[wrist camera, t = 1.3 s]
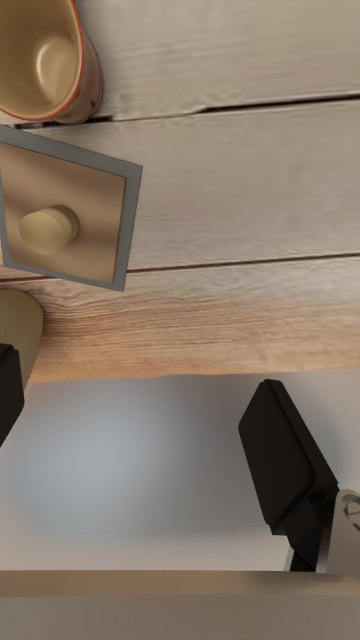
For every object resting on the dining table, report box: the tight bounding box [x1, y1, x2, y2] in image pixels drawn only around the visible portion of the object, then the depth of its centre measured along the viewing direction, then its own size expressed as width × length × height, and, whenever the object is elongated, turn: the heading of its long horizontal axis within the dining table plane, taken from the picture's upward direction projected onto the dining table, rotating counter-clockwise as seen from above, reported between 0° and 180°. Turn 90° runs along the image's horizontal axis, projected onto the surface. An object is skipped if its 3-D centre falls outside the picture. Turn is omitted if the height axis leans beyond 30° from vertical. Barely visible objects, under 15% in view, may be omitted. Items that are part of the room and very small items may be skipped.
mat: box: [0, 124, 142, 292], centre depth 31 cm, size 16×16×1 cm
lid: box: [0, 142, 127, 284], centre depth 28 cm, size 13×13×7 cm
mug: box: [0, 0, 103, 124], centre depth 20 cm, size 12×9×10 cm
